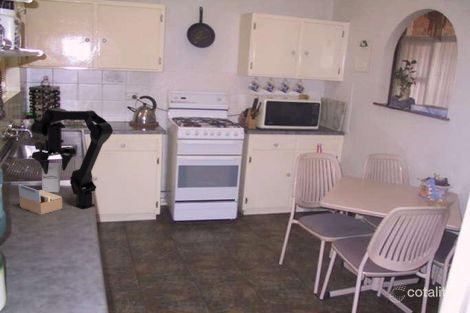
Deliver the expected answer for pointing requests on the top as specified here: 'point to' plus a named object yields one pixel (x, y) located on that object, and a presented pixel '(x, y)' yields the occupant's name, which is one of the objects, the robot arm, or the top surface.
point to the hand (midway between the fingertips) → (55, 172)
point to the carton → (42, 203)
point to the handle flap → (29, 193)
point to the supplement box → (51, 178)
